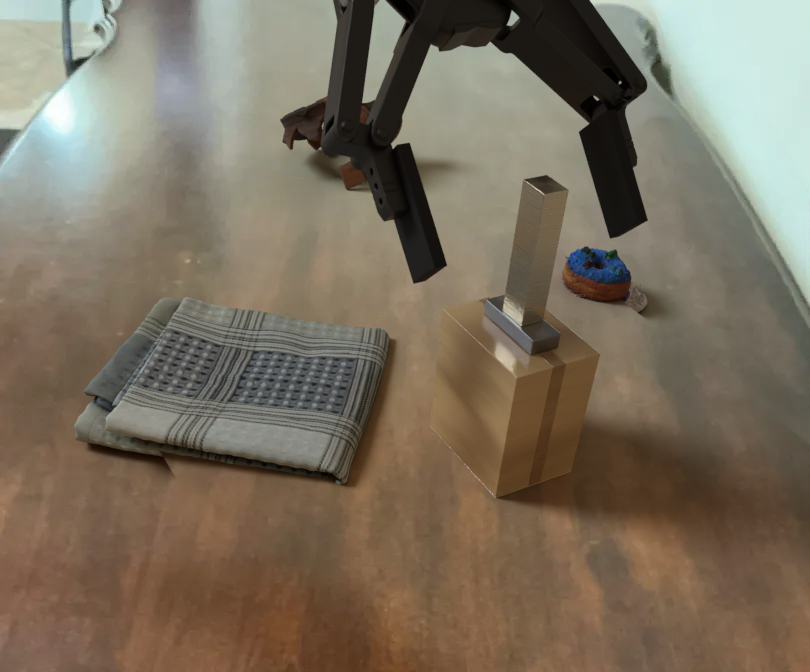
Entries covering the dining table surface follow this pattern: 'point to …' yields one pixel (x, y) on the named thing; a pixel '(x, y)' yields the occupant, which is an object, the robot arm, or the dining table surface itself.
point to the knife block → (509, 399)
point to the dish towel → (238, 389)
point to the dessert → (601, 278)
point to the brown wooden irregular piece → (309, 127)
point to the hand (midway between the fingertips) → (534, 252)
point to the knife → (532, 267)
